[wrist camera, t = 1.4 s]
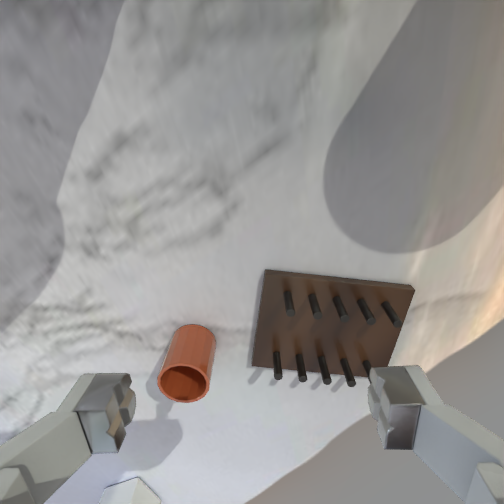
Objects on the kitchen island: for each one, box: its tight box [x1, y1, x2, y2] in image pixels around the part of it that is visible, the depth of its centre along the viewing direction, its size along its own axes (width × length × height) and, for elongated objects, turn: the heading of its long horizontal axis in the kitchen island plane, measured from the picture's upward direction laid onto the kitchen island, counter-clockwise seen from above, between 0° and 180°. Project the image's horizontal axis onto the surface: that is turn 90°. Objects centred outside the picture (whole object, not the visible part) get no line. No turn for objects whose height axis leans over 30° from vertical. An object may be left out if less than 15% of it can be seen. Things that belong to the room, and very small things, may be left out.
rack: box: [252, 270, 415, 387], centre depth 40 cm, size 18×14×5 cm
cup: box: [158, 325, 216, 403], centre depth 41 cm, size 6×6×7 cm
